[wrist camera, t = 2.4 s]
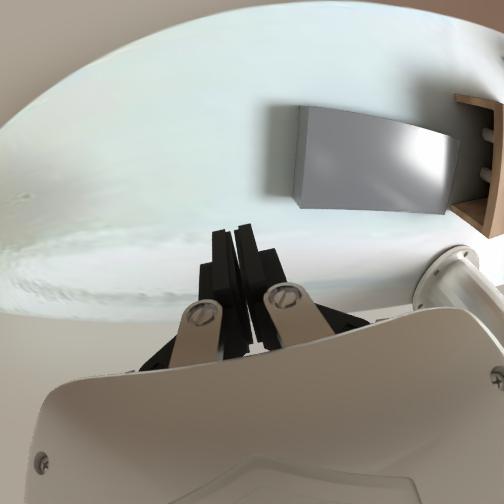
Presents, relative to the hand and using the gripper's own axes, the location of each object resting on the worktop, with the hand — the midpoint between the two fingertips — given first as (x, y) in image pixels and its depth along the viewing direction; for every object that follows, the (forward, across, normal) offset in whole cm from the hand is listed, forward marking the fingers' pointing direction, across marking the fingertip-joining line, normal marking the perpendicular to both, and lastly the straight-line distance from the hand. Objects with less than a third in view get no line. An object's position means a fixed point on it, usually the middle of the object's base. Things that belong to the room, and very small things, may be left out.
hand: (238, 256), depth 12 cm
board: (+12, -14, +1) cm, 18 cm away
